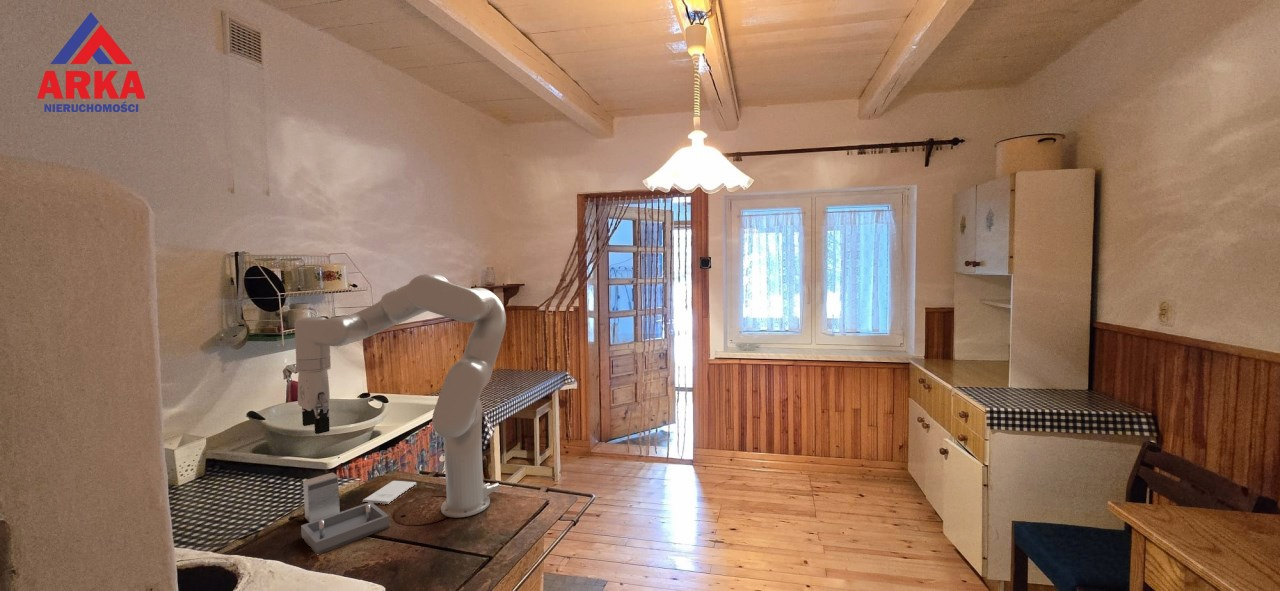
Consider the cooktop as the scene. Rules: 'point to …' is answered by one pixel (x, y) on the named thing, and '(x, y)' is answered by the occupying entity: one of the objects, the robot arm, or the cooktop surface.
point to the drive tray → (344, 527)
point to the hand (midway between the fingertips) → (315, 428)
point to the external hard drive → (389, 492)
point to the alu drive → (321, 497)
